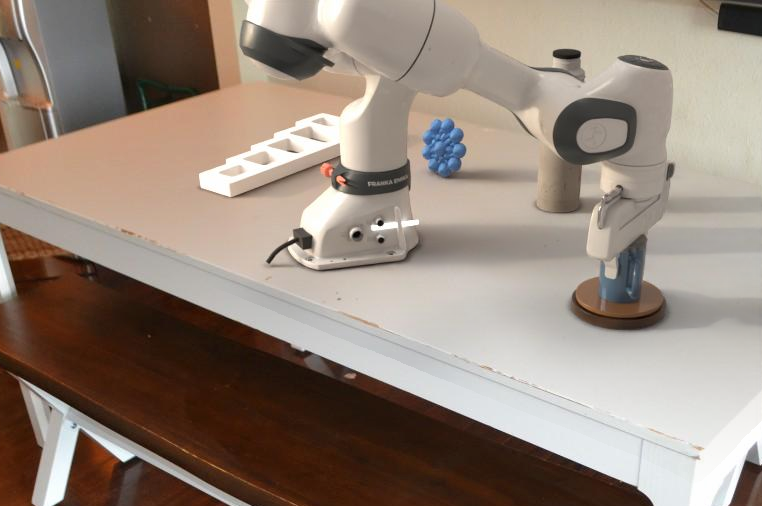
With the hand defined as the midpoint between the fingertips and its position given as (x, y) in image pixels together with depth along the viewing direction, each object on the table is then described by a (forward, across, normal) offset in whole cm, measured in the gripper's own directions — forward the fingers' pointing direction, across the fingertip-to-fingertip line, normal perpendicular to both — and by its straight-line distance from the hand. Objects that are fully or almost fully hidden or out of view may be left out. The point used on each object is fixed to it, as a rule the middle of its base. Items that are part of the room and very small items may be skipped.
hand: (623, 267), depth 145 cm
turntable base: (+7, 0, 0) cm, 7 cm away
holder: (+6, +26, +89) cm, 93 cm away
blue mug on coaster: (+5, 0, 0) cm, 5 cm away
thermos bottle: (+7, +33, +27) cm, 43 cm away
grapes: (+7, +35, +54) cm, 65 cm away
